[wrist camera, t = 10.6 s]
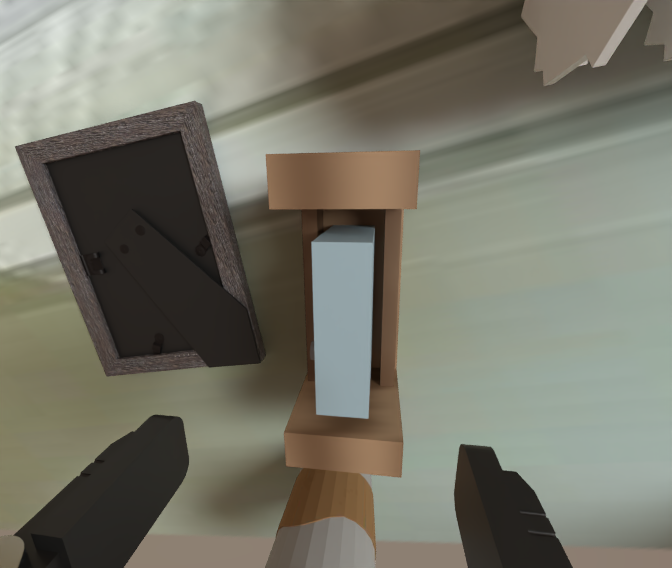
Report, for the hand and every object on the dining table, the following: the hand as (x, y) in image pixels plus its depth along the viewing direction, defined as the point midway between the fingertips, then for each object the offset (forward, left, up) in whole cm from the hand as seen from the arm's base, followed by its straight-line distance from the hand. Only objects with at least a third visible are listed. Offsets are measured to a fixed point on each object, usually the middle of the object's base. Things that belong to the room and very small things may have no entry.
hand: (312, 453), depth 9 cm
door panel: (0, 0, -16) cm, 16 cm away
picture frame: (+18, -2, -19) cm, 26 cm away
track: (0, 0, -18) cm, 18 cm away
